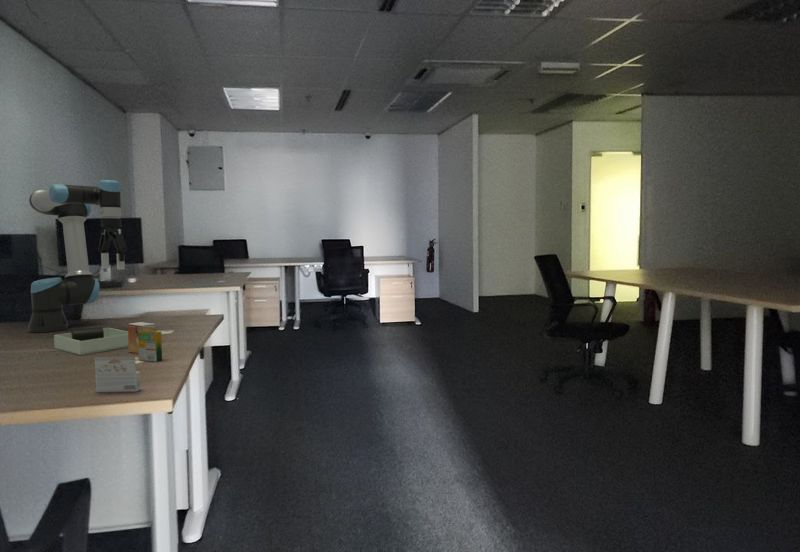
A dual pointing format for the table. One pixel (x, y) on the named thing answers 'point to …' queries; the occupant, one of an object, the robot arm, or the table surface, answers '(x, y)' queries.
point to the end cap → (87, 334)
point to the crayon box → (149, 344)
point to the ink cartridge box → (116, 375)
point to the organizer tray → (92, 342)
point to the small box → (136, 334)
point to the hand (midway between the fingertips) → (113, 268)
